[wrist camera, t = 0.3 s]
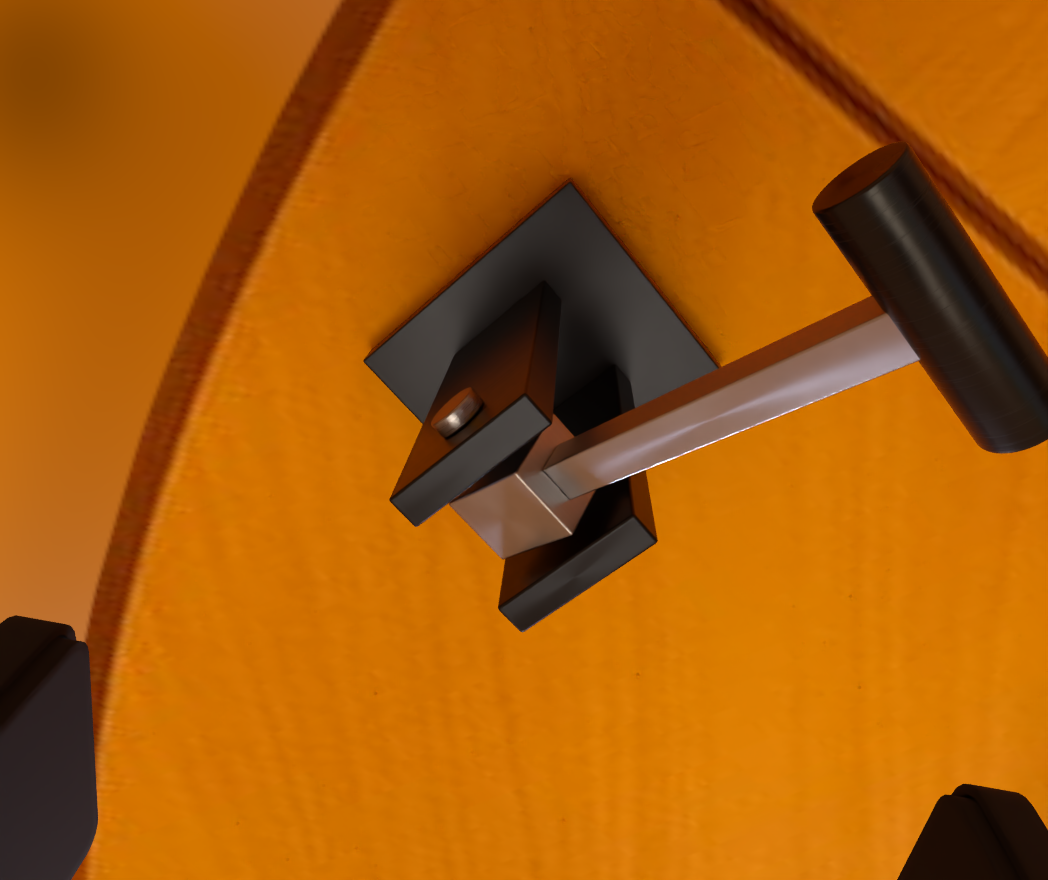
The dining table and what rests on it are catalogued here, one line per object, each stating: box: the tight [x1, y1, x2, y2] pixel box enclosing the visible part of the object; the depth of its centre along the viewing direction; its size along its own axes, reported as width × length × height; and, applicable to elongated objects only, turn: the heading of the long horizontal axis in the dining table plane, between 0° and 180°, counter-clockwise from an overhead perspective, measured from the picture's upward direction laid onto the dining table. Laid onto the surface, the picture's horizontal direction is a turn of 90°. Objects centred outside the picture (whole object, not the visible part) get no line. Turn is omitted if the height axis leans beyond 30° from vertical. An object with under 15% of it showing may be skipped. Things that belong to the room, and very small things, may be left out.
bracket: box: [364, 178, 721, 632], centre depth 26 cm, size 10×9×13 cm
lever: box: [449, 142, 1048, 559], centre depth 18 cm, size 13×6×2 cm, turn 130°
